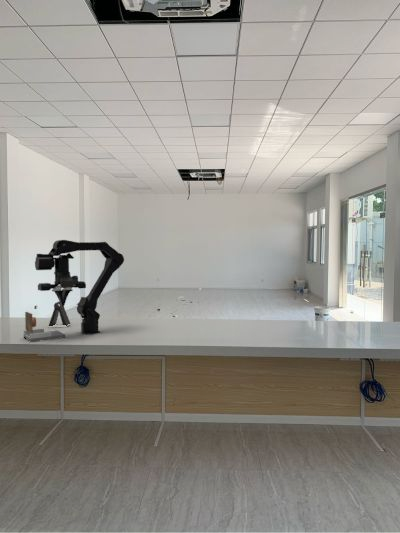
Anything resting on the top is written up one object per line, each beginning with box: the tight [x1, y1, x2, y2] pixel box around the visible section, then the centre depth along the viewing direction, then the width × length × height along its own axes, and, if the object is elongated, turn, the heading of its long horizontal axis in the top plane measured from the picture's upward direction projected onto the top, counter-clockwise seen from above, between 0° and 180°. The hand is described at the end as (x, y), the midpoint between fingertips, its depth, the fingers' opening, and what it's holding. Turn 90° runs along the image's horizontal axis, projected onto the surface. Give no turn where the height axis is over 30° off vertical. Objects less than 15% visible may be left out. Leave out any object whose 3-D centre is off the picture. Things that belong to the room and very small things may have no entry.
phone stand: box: [48, 300, 71, 326], centre depth 192 cm, size 9×6×12 cm, turn 92°
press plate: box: [24, 311, 37, 333], centre depth 164 cm, size 3×8×8 cm, turn 37°
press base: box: [23, 328, 66, 343], centre depth 167 cm, size 14×11×3 cm
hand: (62, 306), depth 169 cm, fingers closed
